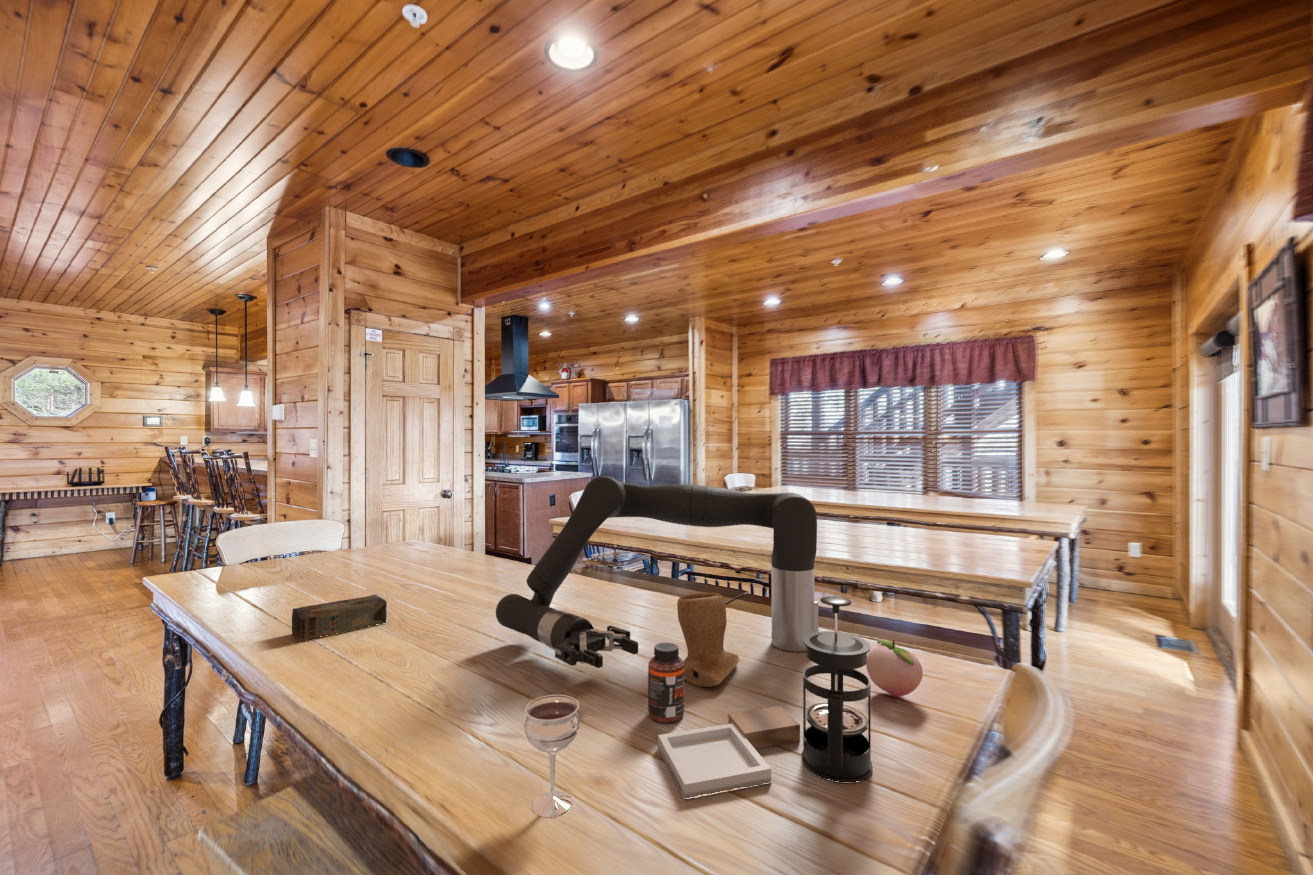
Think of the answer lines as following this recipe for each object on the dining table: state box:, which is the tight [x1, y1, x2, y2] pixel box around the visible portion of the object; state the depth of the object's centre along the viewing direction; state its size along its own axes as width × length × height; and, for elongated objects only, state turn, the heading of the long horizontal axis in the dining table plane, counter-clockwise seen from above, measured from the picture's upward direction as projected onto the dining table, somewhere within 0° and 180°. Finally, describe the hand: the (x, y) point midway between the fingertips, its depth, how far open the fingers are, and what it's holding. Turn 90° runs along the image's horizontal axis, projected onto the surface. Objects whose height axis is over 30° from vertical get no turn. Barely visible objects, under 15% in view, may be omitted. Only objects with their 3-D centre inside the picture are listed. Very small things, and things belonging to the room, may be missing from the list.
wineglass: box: [524, 694, 581, 818], centre depth 68 cm, size 7×7×12 cm
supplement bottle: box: [647, 642, 685, 724], centre depth 90 cm, size 6×6×11 cm
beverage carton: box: [291, 593, 388, 643], centre depth 132 cm, size 8×19×7 cm, turn 133°
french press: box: [801, 595, 874, 782], centre depth 76 cm, size 12×9×23 cm
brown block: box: [727, 705, 801, 750], centre depth 84 cm, size 9×6×2 cm, turn 106°
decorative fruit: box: [865, 639, 924, 698], centre depth 96 cm, size 9×8×10 cm
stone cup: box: [676, 592, 740, 688], centre depth 107 cm, size 15×12×15 cm
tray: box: [657, 723, 772, 799], centre depth 76 cm, size 12×12×2 cm
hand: (619, 655), depth 98 cm, fingers open, 8 cm apart
